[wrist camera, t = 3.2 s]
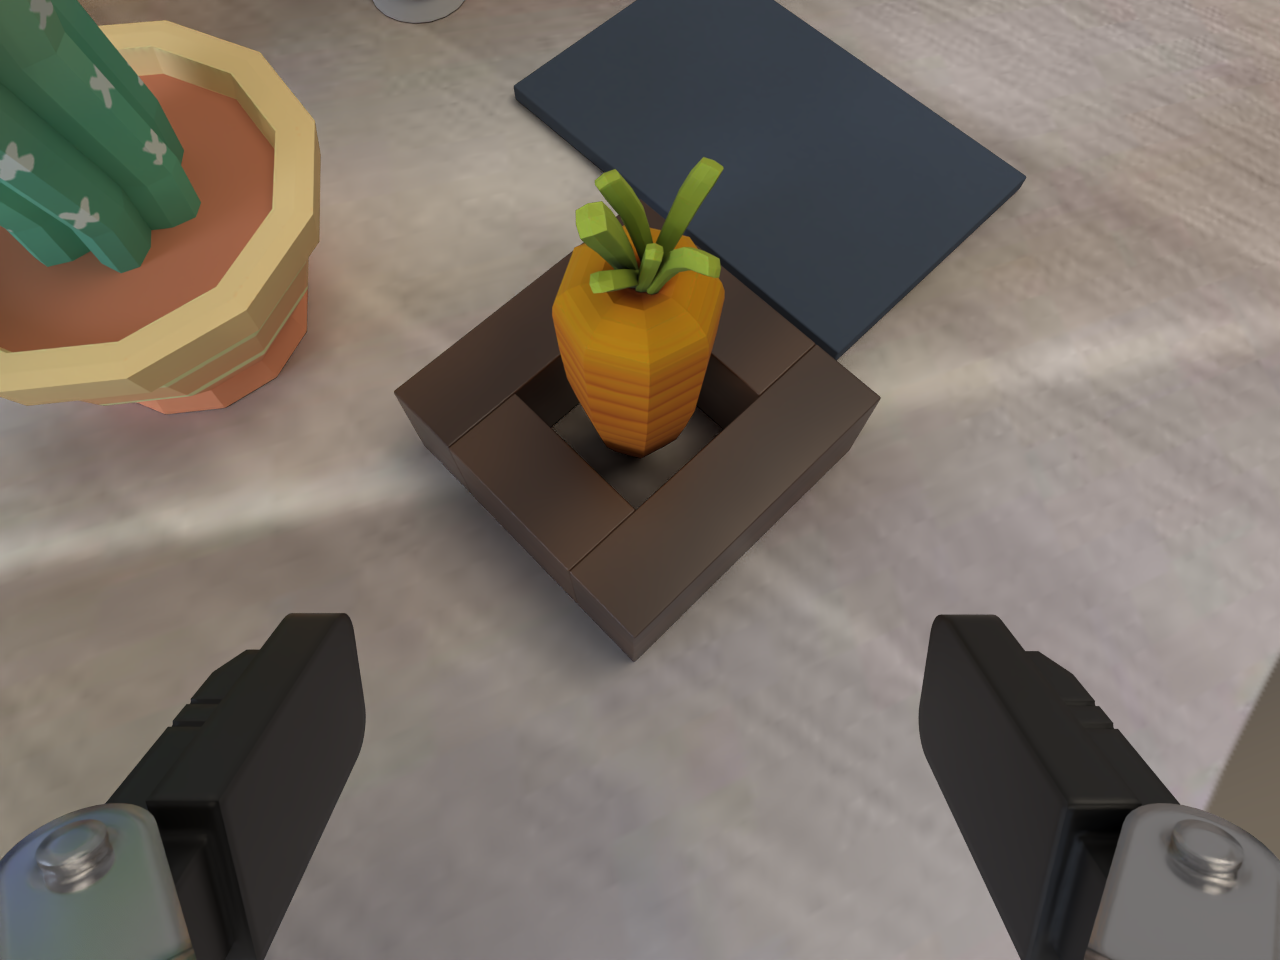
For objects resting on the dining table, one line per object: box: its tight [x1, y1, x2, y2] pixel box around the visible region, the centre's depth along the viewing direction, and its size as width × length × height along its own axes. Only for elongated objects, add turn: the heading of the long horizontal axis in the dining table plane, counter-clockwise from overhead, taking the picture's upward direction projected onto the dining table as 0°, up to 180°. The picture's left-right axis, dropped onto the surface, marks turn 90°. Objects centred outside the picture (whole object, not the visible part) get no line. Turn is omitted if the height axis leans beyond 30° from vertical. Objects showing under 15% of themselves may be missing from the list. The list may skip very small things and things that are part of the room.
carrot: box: [552, 157, 725, 458], centre depth 26 cm, size 5×5×15 cm
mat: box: [514, 0, 1026, 360], centre depth 38 cm, size 20×13×1 cm, turn 44°
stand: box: [394, 199, 881, 662], centre depth 31 cm, size 12×12×4 cm
